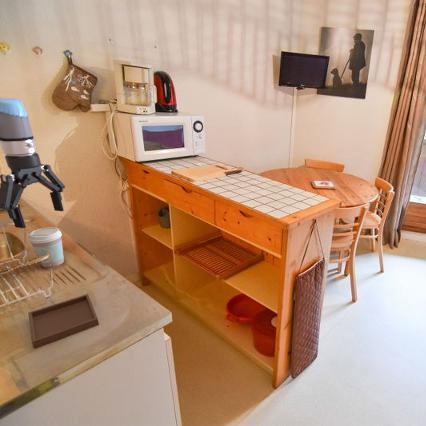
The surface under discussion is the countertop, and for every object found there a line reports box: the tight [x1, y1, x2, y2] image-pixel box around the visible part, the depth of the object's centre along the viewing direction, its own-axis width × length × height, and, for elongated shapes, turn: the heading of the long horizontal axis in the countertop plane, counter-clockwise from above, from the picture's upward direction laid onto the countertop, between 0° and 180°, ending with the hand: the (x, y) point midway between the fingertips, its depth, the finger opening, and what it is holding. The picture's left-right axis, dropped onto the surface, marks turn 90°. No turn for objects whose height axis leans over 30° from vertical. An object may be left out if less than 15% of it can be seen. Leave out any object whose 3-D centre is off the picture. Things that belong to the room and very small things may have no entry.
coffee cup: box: [28, 226, 65, 269], centre depth 107 cm, size 8×9×12 cm
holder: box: [27, 293, 100, 349], centre depth 85 cm, size 13×13×2 cm
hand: (41, 218), depth 102 cm, fingers open, 13 cm apart
